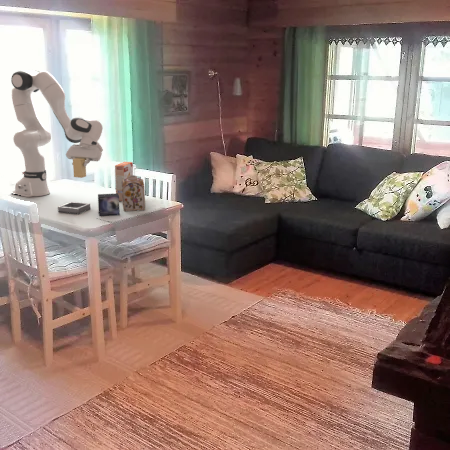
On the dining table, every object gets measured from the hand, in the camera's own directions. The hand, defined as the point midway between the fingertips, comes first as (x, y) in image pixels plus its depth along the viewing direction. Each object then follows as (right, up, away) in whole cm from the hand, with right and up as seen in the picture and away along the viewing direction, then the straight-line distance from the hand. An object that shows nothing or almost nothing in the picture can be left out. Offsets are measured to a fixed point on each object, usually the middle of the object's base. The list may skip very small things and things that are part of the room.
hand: (78, 165), depth 298 cm
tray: (0, -25, -8) cm, 27 cm away
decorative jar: (+31, -24, -2) cm, 39 cm away
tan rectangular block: (0, -6, +2) cm, 6 cm away
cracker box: (+22, -18, +19) cm, 34 cm away
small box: (+20, -28, -15) cm, 37 cm away
